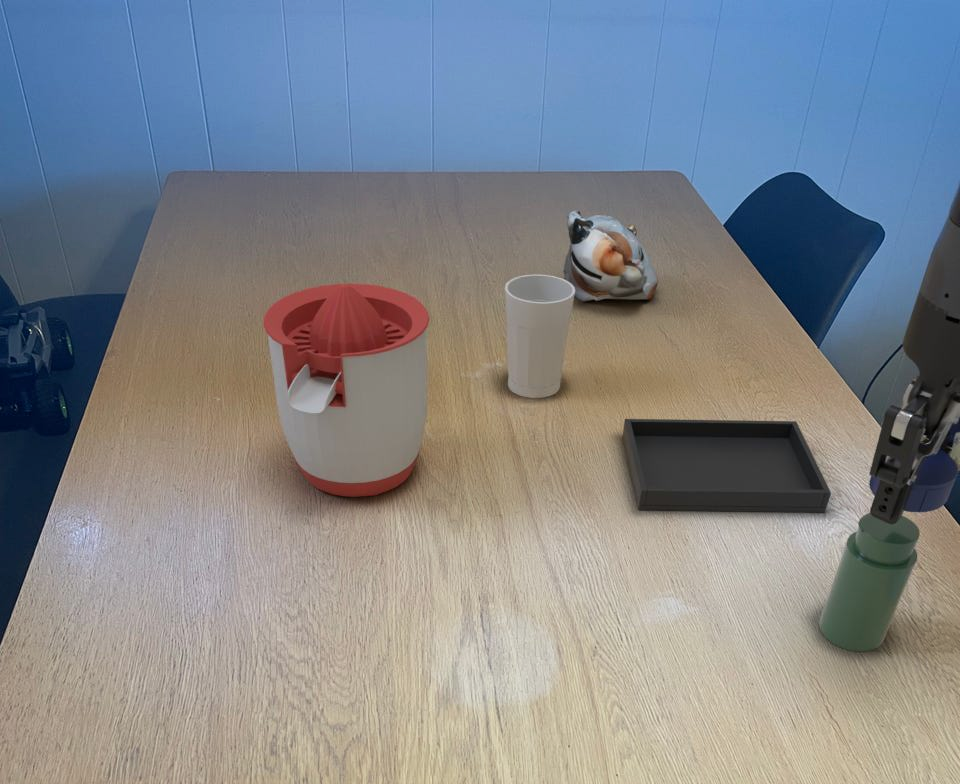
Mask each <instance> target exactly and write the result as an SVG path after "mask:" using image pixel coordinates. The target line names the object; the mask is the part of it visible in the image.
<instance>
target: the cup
mask: <svg viewBox="0 0 960 784" xmlns="http://www.w3.org/2000/svg"><path fill="white" fill-rule="evenodd" d="M564 279H565V278H561V277H559V276H556V275H555V276H554V275H549V274H525V275H520V276H515V277H514V278H512V279H510V280H509V281H507V282H506V283H505V285H504V297H505V298H504V299H505V301H504V302H505V317H506V318H505V319H506V343H507V344H506V345H507V346H506V347H507V367H508V368H507V372H508V373H507V375H508V378H507V387H508V389H509V390H510V392H512V393H514V394H515V395H518V396H521V397H523V398H530V399H542V398H547V397H551V396H553V395H556V394H557V393H558V392H559V390H560V389H561V378H562V373H563V372H562V371H563V365H564V359H565V353H566V347H567V341H568V337H569V336H568V335H569V329H570V323H571V317H572V311H573V306H574V300H575V296H574V295H575V288H574V286H573V285H572V284H571V283H570V282H568V281H566V280H564Z"/></svg>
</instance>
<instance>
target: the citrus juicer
mask: <svg viewBox="0 0 960 784" xmlns="http://www.w3.org/2000/svg"><path fill="white" fill-rule="evenodd" d="M429 323H430V315H429V311H428V310H427V308H426V307H425V306H424V304H423V303H422V302H421V301H420V300H418V298H416V297H414V296H412V295H410V294H408V293H405V292H404V291H401V290H397V289H396V288H395V289H394V288H391V287H386V286H382V285H375V284H367V283H334V284H326V285H320V286H313V287H309V288H305V289H302V290H299V291H295V292H293V293H290V294H288V295H286V296H284V297H281V298H280V299H279V300H278V301H276V302H274V303H273V304H272V305H271V306H270V307H269V308H268V309H267V311H266V313H265V315H264V317H263V328H264V331H265V333H266V334H267V338H268V345H269V353H270V361H271V368H272V375H273V376H272V377H273V383H274V390H275V391H274V392H275V398H276V405H277V410H278V415H279V419H280V420H279V421H280V424H281V427H282V430H283V432H284V435H285V439H286V442H287V444H288V447H289V449H290V452H291V453H292V457H293V459H294V461H295V464H296V466H297V467H298V469H299V470H300V472H301V474H302V475H303V476H304V478H305V479H306V480H307V482H309V483H310V484H311V485H312V486H313V487H314V488H316V489H318V490H320V491H322V492H325V493H328V494H332V495H334V496H340V497H341V496H342V497H352V498H353V497H354V498H355V497H356V498H357V497H368V496H371V497H372V496H373V497H374V496H379V494H383V493H385V492H388V491H391V490H392V489H395V488H397V487H398V486H400V485H402V484H403V483H404V482H405V481H406V480H407V479H408V478H409V476H410V475H411V473H412V471H413V470H414V467H415V465H416V463H417V460H418V458H419V455H420V451H421V445H422V442H423V438H424V433H425V428H426V422H427V415H428V399H429V398H428V395H429V394H428V391H429V390H428V342H427V341H428V339H427V337H428V336H427V332H428V331H427V328H428V327H429Z"/></svg>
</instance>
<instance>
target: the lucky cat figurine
mask: <svg viewBox="0 0 960 784" xmlns="http://www.w3.org/2000/svg"><path fill="white" fill-rule="evenodd" d="M566 222H567V223H566V225H567V230H568V238H569V242H570V244H569V249H568V252H567V254H566V256H565V260H564V266H563V274H564V278H563V279H564V280H566V281H568V282H570V283H571V284H572V285H573V286H574V288H575V295H574V298H576V299H577V300H578V301H579V300H580V301H581V302H582V303H583V302H584V303H585V302H589V301H594V300H595V302H596V301H601V300H605V299H606V300H642V301H643V300H644V301H650V300H651V299H652V297H653V295H654V292H655V291H656V289H657V288H658V284H659V278H658V275H657V273H656V271H655V268H654V267H653V266H652V264H651V262H650V260H649V257H648V254H647V252H646V250H645V249H644V247H643V245H642V244H641V242H640V240H639V239H638V238H637V234H638V230H637V228H636V226H635V225H634V224H632V223H631V224H628V225H626V226H625V224H622V223H621V221H619V219H615V218H614V217H613V216H611V215H605V214H594V215H591V216H588V217H587V218H584V217H583V215H582V214H581V211H580V210H575V209H574V210H573V211H571V212H570V213H567V221H566Z"/></svg>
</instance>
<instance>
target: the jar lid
mask: <svg viewBox="0 0 960 784" xmlns="http://www.w3.org/2000/svg"><path fill="white" fill-rule="evenodd" d="M895 461H896V462H898V463H900V462H899V461H898V460H897V459H896V460H895ZM958 473H959V467H958V464H957V462H956V461H955V459H954V458H953V457H952V456H951V455H950V456H949V455H948V454H947V453H945V452H943V451H942V450H940V449H939V450H938V452H937V454H936V455H934V456H932V457H928V458H926V460H925V462H924V464H923V466H922V468H921V470H920V472H919V474H918V477H917V479H916V481H915V482H914V484H913V487H912V490H911V493H910V495H909V498H908V501H907V503H906V506H905V509H904V511H903V512H909V513H928V512H933V511H936V510H938V509H940V508H942V507H944V505H945V504H946V503H947V501H948V499H949V497H950V494H951V491H952V490H953V486H954V484H955V482H956V479H957V476H958ZM880 480H881V479H879V478H875V477H873V476H870V479H869V481H868V484H869V485H868V487H869V489H870V492H871V493H872V495H873V497H875V494H876V491H877V488H878V485H879V483H880Z"/></svg>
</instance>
